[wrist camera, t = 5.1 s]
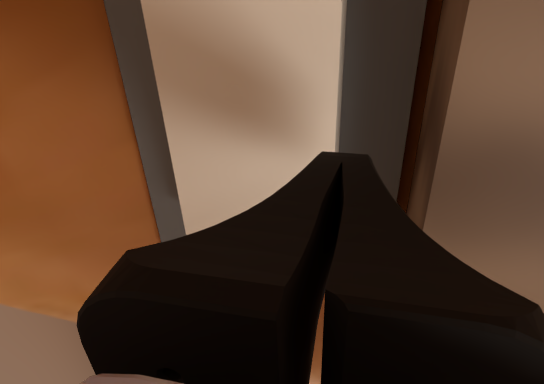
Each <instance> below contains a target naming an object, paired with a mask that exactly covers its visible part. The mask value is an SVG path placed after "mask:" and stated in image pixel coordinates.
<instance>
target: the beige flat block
mask: <svg viewBox="0 0 544 384" xmlns="http://www.w3.org/2000/svg"><path fill="white" fill-rule="evenodd" d="M141 5H142V10H143V16H144V21H145V26H146V31H147V36H148V41H149V47H150V52H151V57H152V62H153V67H154V72H155V77H156V83H157V88H158V93H159V98H160V103H161V108H162V114H163V119H164V124H165V129H166V134H167V139H168V144H169V150H170V155H171V160H172V165H173V170H174V175H175V180H176V186H177V191H178V196H179V201H180V206H181V211H182V217H183V222H184V227H185V232H186V235H189V234H192V233H195V232H198V231H201V230H203V229H206V228H209V227H211V226H214V225H216V224H218V223H221V222H223V221H225V220H227V219H229V218H231V217H234V216H236V215H238V214H240V213H242V212H244V211H246V210H248V209H250V208H251V207H253V206H255V205H257V204H258V203H260V202H262V201H263V200H265V199H266V198H268V197H269V196H271V195H272V194H274V193H275V192H276V191H278V190H279V189H280V188H282V187H283V186H284V185H286V184H287V183H288V182H289V181H290V180H291V179H293V178H294V177H295V176H296V175H297V174H298V173H299V172H301V171H302V170H303V169H304V168H305V167H306V166H307V165H308V164H309V163H310V162H311V161H312V160H313V159H314V158H315V157H316V156H317V155H318V154H319V153H321V152H322V151H325V152H339V137H340V119H341V101H342V83H343V64H344V46H345V28H346V10H347V0H141Z"/></svg>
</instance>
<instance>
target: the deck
mask: <svg viewBox="0 0 544 384" xmlns="http://www.w3.org/2000/svg"><path fill="white" fill-rule="evenodd" d="M406 214H407V215H408V217H409V218H410V219H411V220H412V221H413V222H414V223H415V224H416V225H417V226H418V227H419V228H420V229H421V230H422V231H424V232H425V233H426V234H427V235H428V236H429V237H430V238H432V239H433V240H434V241H435V242H437V243H438V244H439V245H440V246H442V247H443V248H444V249H446V250H447V251H448V252H449V253H451V254H452V255H454V256H455V257H457V258H458V259H459V260H461V261H462V262H464V263H465V264H467V265H468V266H470V267H472V268H473V269H475V270H476V271H478V272H479V273H481V274H483V275H484V276H486V277H488V278H489V279H491V280H493V281H495V282H497V283H498V284H500V285H502V286H504V287H506V288H508V289H510V290H512V291H514V292H516V293H517V294H519V295H521V296H523V297H525V298H527V299H529V300H531V301H533V302H535V303H536V304H538V305H539V306H540V307H541V309H542V311H543V313H544V0H443V2H442V8H441V14H440V20H439V25H438V31H437V37H436V43H435V49H434V55H433V61H432V66H431V72H430V78H429V84H428V90H427V96H426V102H425V107H424V113H423V119H422V125H421V131H420V137H419V142H418V148H417V154H416V160H415V166H414V172H413V178H412V183H411V189H410V195H409V201H408V207H407V213H406Z"/></svg>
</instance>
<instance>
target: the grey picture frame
mask: <svg viewBox="0 0 544 384" xmlns="http://www.w3.org/2000/svg"><path fill="white" fill-rule="evenodd" d="M104 5H105V9H106V13H107V17H108V21H109V26H110V30H111V34H112V38H113V42H114V46H115V51H116V55H117V59H118V63H119V67H120V72H121V76H122V80H123V84H124V88H125V93H126V97H127V101H128V105H129V109H130V114H131V118H132V122H133V126H134V130H135V134H136V139H137V143H138V147H139V151H140V155H141V160H142V164H143V168H144V172H145V176H146V181H147V185H148V189H149V193H150V197H151V202H152V206H153V210H154V214H155V218H156V222H157V227H158V231H159V235H160V239H161V242H165V241H169V240H173V239H176V238H179V237H183V236H186V232H185V227H184V222H183V217H182V211H181V206H180V201H179V196H178V191H177V186H176V180H175V175H174V170H173V165H172V160H171V155H170V150H169V144H168V139H167V134H166V129H165V124H164V119H163V114H162V108H161V103H160V98H159V93H158V88H157V83H156V77H155V72H154V67H153V62H152V57H151V52H150V47H149V41H148V36H147V31H146V26H145V21H144V16H143V10H142V5H141V0H104ZM426 5H427V0H347V10H346V28H345V46H344V64H343V83H342V101H341V119H340V137H339V152H340V153H355V154H368V155H369V156H370V157H371V159H372V162H373V164H374V167H375V169H376V171H377V173H378V174H379V176H380V178H381V180H382V181H383V183H384V185H385V186H386V188H387V189H388V191H389V192H390V194H391V195H392V197H393V198H394V199H395V201H396V202H397V195H398V189H399V182H400V176H401V169H402V163H403V156H404V149H405V143H406V136H407V130H408V123H409V116H410V110H411V103H412V97H413V90H414V84H415V77H416V70H417V64H418V57H419V51H420V44H421V37H422V31H423V24H424V18H425V11H426Z"/></svg>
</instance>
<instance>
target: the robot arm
mask: <svg viewBox="0 0 544 384" xmlns="http://www.w3.org/2000/svg"><path fill="white" fill-rule="evenodd" d="M324 293H325V306H324V328H323V349H322V371H321V384H544V313H543V311H542V309H541V307H540V306H539V305H538V304H536V303H535V302H533V301H531V300H529V299H527V298H525V297H523V296H521V295H519V294H517V293H516V292H514V291H512V290H510V289H508V288H506V287H504V286H502V285H500V284H498V283H497V282H495V281H493V280H491V279H489V278H488V277H486V276H484V275H483V274H481V273H479V272H478V271H476V270H475V269H473V268H472V267H470V266H468V265H467V264H465V263H464V262H462V261H461V260H459V259H458V258H457V257H455V256H454V255H452V254H451V253H449V252H448V251H447V250H446V249H444V248H443V247H442V246H440V245H439V244H438V243H437V242H435V241H434V240H433V239H432V238H430V237H429V236H428V235H427V234H426V233H425V232H424V231H422V230H421V229H420V228H419V227H418V226H417V225H416V224H415V223H414V222H413V221H412V220H411V219H410V218H409V217H408V215H407V214H406V213H405V212H404V211H403V210H402V208H401V207H400V206H399V205H398V203H397V202H396V201H395V199H394V198H393V197H392V195H391V194H390V192H389V191H388V189H387V188H386V186H385V185H384V183H383V181H382V180H381V178H380V176H379V174H378V173H377V171H376V169H375V167H374V164H373V162H372V159H371V157H370V156H369V155H368V154H355V153H340V152H325V151H322V152H321V153H319V154H318V155H317V156H316V157H315V158H314V159H313V160H312V161H311V162H310V163H309V164H308V165H307V166H306V167H305V168H304V169H303V170H302V171H301V172H299V173H298V174H297V175H296V176H295V177H294V178H293V179H291V180H290V181H289V182H288V183H287V184H286V185H284V186H283V187H282V188H280V189H279V190H278V191H276V192H275V193H274V194H272V195H271V196H269V197H268V198H266V199H265V200H263V201H262V202H260V203H258V204H257V205H255V206H253V207H251V208H250V209H248V210H246V211H244V212H242V213H240V214H238V215H236V216H234V217H231V218H229V219H227V220H225V221H223V222H221V223H218V224H216V225H214V226H211V227H209V228H206V229H203V230H201V231H198V232H195V233H192V234H189V235H186V236H183V237H179V238H176V239H173V240H169V241H165V242H161V243H157V244H153V245H149V246H145V247H140V248H136V249H131V250H127V251H126V252H125V254H124V255H123V256H122V257H121V258H120V259H119V260H118V262H117V263H116V264H115V265H114V266H113V268H112V269H111V270H110V271H109V273H108V274H107V275H106V276H105V277H104V279H103V280H102V281H101V282H100V284H99V285H98V286H97V287H96V289H95V290H94V291H93V292H92V294H91V295H90V296H89V297H88V299H87V300H86V301H85V303H84V304H83V306H82V307H81V309H80V310H79V312H78V318H77V328H78V332H79V335H80V339H81V342H82V345H83V347H84V350H85V352H86V354H87V356H88V358H89V361H90V363H91V365H92V367H93V369H94V372H95V374H96V375H94V376H90V377H89V378H87V379H86V380H84V381H83V382H81V383H80V384H309V379H310V372H311V365H312V358H313V351H314V344H315V337H316V330H317V323H318V319H319V314H320V309H321V305H322V301H323V297H324Z"/></svg>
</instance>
